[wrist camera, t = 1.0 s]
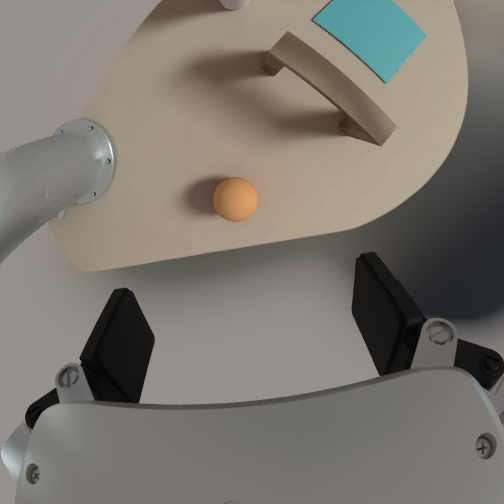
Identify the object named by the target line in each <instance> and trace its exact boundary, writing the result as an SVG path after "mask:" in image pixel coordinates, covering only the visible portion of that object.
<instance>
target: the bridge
mask: <svg viewBox="0 0 504 504" xmlns="http://www.w3.org/2000/svg"><path fill="white" fill-rule="evenodd" d="M284 66H285V67H287V68H288V69H289V70H291V71H292V72H294V73H295V74H296V75H298V76H299V77H300V78H302V79H303V80H304V81H306V82H307V83H308V84H309V85H311V86H312V87H313V88H314V89H316V90H317V91H318V92H319V93H321V94H322V95H323V96H324V97H325V98H327V99H328V100H329V101H330V102H331V103H332V104H334V105H335V106H336V107H337V108H338V109H339V110H340V111H342V112H343V113H344V114H345V115H346V116H347V117H346V118H345V119H344V121H343V122H342V123H341V124H340V125H339V128H341V129H342V130H343V131H344V132H345V133H346V134H347V135H348V136H350V137H353V138H356V139H360V140H363V141H366V142H369V143H372V144H375V145H378V146H382V145H383V144H384V142H385V141H386V140H387V139H388V137H389V136H390V135H391V134H392V132H393V131H394V130H395V129H396V127H397V126H396V125H395V124H394V123H393V122H392V121H391V120H390V118H389V117H388V116H387V115H386V114H385V113H384V112H383V111H382V110H381V109H380V108H379V107H378V106H377V105H376V104H375V103H374V102H373V101H372V100H371V99H370V98H369V97H368V96H367V95H366V94H365V93H364V92H363V91H362V90H361V89H360V88H359V87H358V86H357V85H356V84H355V83H354V82H352V81H351V80H350V79H349V78H348V77H347V76H346V75H345V74H343V73H342V72H341V71H340V70H339V69H338V68H336V67H335V66H334V65H333V64H332V63H330V62H329V61H328V60H327V59H325V58H324V57H323V56H322V55H320V54H319V53H318V52H317V51H315V50H314V49H313V48H311V47H310V46H309V45H307V44H306V43H304V42H303V41H302V40H300V39H299V38H297V37H296V36H295V35H293V34H292V33H290V32H289V31H287V32H286V33H285V34H284V35H283V37H282V38H281V39H280V40H279V41H278V42H277V43H276V44H275V45H274V46H273V47H272V49H271V50H270V51H269V52H268V54H267V56H266V58H265V60H264V62H263V64H262V68H263V69H265V70H266V71H268V72H269V73H271V74H272V75H274V76H275V75H276V74H277V73H278V72H279V71H280V70H281V69H282V68H283V67H284Z"/></svg>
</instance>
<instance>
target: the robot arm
mask: <svg viewBox="0 0 504 504" xmlns="http://www.w3.org/2000/svg"><path fill="white" fill-rule="evenodd" d="M110 160H111V162H110ZM115 165H116V157H115V150H114V145H113V143H112V141H111V138H110V136H109V135H108V133H107V132H106V130H105V129H104V128H103V127H102V126H101V125H99V124H98V123H96V122H94V121H91V120H89V119H76V120H72V121H69V122H67V123H65V124H63V125H62V126H61V127H59V128H58V129H57V131H56V132H55V133H54V135H53V136H51V137H47V138H43V139H40V140H37V141H33V142H30V143H27V144H25V145H21V146H18V147H15V148H12V149H10V150H7V151H4V152H1V153H0V265H1V263H2V262H3V261H4V260H5V259H6V258H7V256H8V255H9V254H10V253H11V252H12V251H14V250H15V249H16V248H17V247H18V246H19V245H20V244H21V243H22V242H23V241H24V240H26V239H27V238H28V237H29V236H30V235H31V234H32V233H34V232H35V231H36V230H37V229H39V228H40V227H41V226H42V225H44V224H45V223H46V222H47V221H49V220H50V219H51V218H53V217H54V216H55V215H57V218H58V219H64V217H65V214H66V209H67V208H69V207H70V206H72V205H73V204H74V203H75V204H86V203H90V202H92V201H94V200H96V199H97V198H99V197H100V196H101V195H102V194H103V193H104V192H105V191H106V190H107V188H108V187H109V185H110V183H111V181H112V179H113V176H114V172H115ZM95 193H96V194H95ZM355 266H356V267H355V278H354V290H353V300H352V314H353V317H354V319H355V321H356V323H357V325H358V328H359V330H360V332H361V334H362V337H363V339H364V341H365V343H366V345H367V348H368V350H369V352H370V355H371V357H372V359H373V362H374V364H375V367H376V369H377V371H378V374H379V375H380V376H381V377H377V378H373V379H369V380H366V381H361V382H357V383H353V384H349V385H344V386H340V387H336V388H331V389H326V390H321V391H316V392H311V393H305V394H299V395H294V396H286V397H279V398H272V399H264V400H255V401H245V402H233V403H217V404H192V405H189V404H188V405H165V404H163V405H162V404H138V403H139V401H140V397H141V393H142V389H143V384H144V380H145V377H146V373H147V369H148V365H149V361H150V357H151V353H152V349H153V346H154V342H155V338H154V334H153V332H152V330H151V329H150V326H149V325H148V322H147V321H146V319H145V316H144V314H143V312H142V310H141V309H140V306H139V304H138V302H137V300H136V298H135V296H134V293H133V292H132V291H129V289H127V288H120V289H115V290H114V291H113V293H112V294H111V296H110V298H109V300H108V302H107V304H106V305H105V307H104V309H103V311H102V313H101V315H100V317H99V319H98V321H97V323H96V325H95V327H94V329H93V331H92V333H91V335H90V337H89V339H88V341H87V343H86V345H85V347H84V349H83V351H82V353H81V356H80V360H81V362H82V363H81V365H79V364H77V363H70V364H68V365H65V366H64V367H63V368H61V370H60V371H59V372H58V374H57V376H56V379H55V385H56V388H55V389H53V390H52V391H50V392H49V393H47V394H46V395H44V396H43V397H41V398H40V399H38V400H37V401H35V402H34V403H33V404H31V405H30V406H29V408H28V410H27V412H26V415H25V421H26V423H24V422H22V423H21V424H20V425H19V426H18V427H17V429H16V430H15V431H14V432H13V433H12V435H11V436H10V437H9V438H8V439H7V441H6V442H5V443H4V445H3V446H2V450H1V456H2V459H3V461H4V463H5V465H6V467H7V469H8V470H9V472H10V474H11V476H12V477H13V479H14V481H15V483H16V484H17V490H16V496H15V504H504V361H503V359H502V357H501V356H500V355H499V354H498V353H497V352H496V351H494V350H491V349H488V348H485V347H482V346H479V345H476V344H473V343H470V342H467V341H464V340H461V339H458V334H457V330H456V328H455V327H454V326H453V324H451V323H450V322H449V321H447V320H444V319H440V318H433V319H430V320H427V319H426V318H425V316H424V315H423V313H422V312H421V310H420V309H419V308H418V306H417V305H416V303H415V302H414V301H413V299H412V298H411V296H410V295H409V294H408V292H407V291H406V290H405V288H404V287H403V286H402V284H401V283H400V282H399V281H398V280H396V279H395V277H394V276H393V275H392V273H391V272H390V271H389V270H388V268H387V267H386V266H385V264H384V263H383V262H382V261H381V259H380V258H379V257H378V256H377V254H376V253H375V252H368V253H362V254H360V257H359V258H357V259H356V265H355Z"/></svg>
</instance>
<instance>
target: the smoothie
mask: <svg viewBox="0 0 504 504" xmlns="http://www.w3.org/2000/svg"><path fill="white" fill-rule="evenodd" d="M219 1H220V3H221V4H222V6H223V7H225V8H226V9H229V10H240V9H243V8H244V7H246V6H247V5H248V4H249V2H250V0H219Z"/></svg>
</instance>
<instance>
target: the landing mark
mask: <svg viewBox="0 0 504 504" xmlns="http://www.w3.org/2000/svg"><path fill="white" fill-rule="evenodd" d="M313 21H314V22H315V23H317V24H318V25H320V26H321V27H322V28H324V29H325V30H326V31H328V32H329V33H330V34H332V35H333V36H334V37H335V38H337V39H338V40H339V41H340V42H341V43H343V44H344V45H345V46H346V47H347V48H349V49H350V50H351V51H352V52H353V53H354V54H356V55H357V56H358V57H359V58H360V59H361V60H362V61H363V62H364V63H365V64H367V65H368V66H369V67H370V68H371V69H372V70H373V71H374V72H375V73H376V74H377V75H378V76H379V77H380V78H381V79H382V80H383V81H384V82H385V83H387V82H388V81H389V80H390V79H391V77H392V76H393V75H394V74H395V73H396V71H397V70H398V69H399V68H400V67H401V65H402V64H403V63H404V62H405V61H406V59H407V58H408V57H409V56H410V55H411V53H412V52H413V51H414V50H415V49H416V47H417V46H418V45H419V44H420V43H421V41H422V40H423V39H424V38H425V37H426V34H425V33H424V32H423V31H422V30H421V29H420V28H419V27H418V26H417V24H416V23H415V22H414V21H413V20H412V19H411V18H410V17H409V16H408V15H407V14H406V13H405V12H404V11H403V10H402V9H401V8H400V7H399V6H397V5H396V4H395V3H394V2H393V1H392V0H333V1H332V2H331V3H330V4H329V5H328V6H326V7H325V8H324V9H323V10H322V11H321V12H320V13H319V14H318V15H317V16H316V17H315V18H314V19H313Z"/></svg>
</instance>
